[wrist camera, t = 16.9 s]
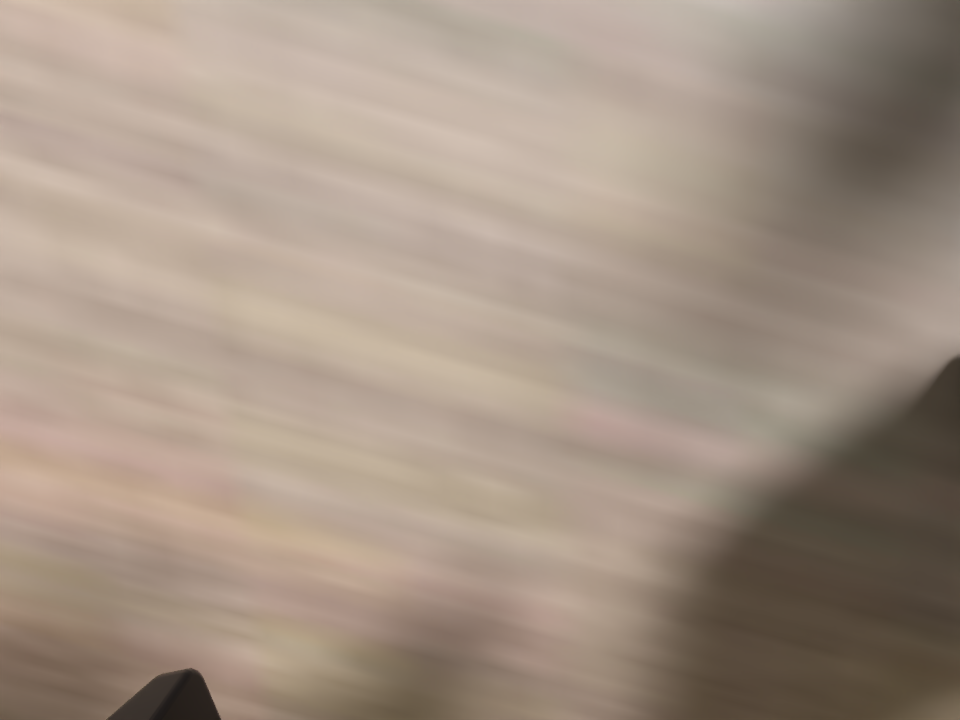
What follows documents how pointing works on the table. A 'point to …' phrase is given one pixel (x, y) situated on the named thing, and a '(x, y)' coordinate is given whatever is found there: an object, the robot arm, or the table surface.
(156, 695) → the robot arm
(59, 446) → the table surface
